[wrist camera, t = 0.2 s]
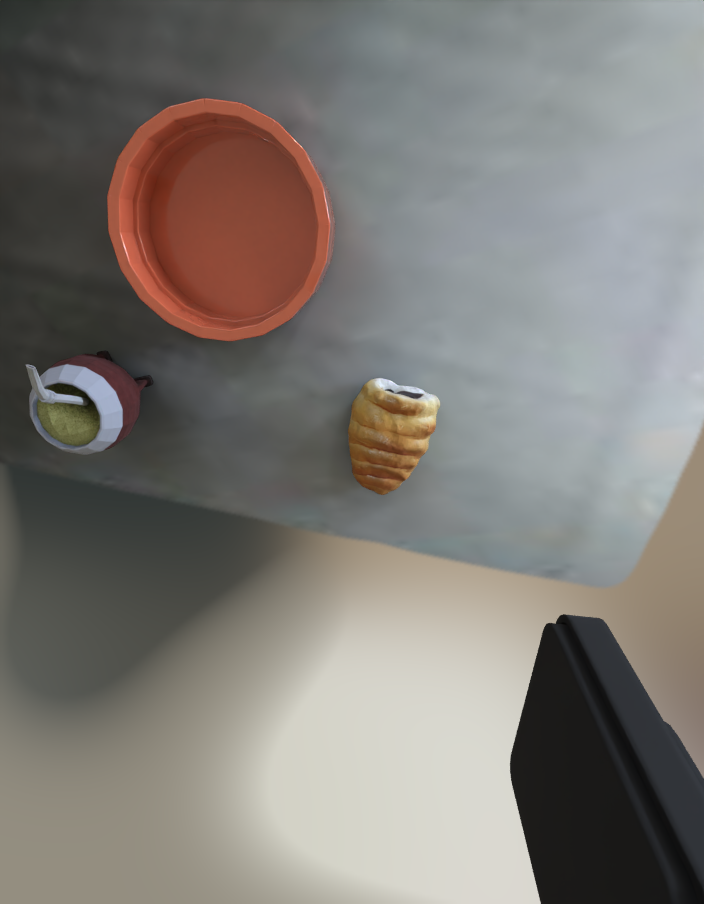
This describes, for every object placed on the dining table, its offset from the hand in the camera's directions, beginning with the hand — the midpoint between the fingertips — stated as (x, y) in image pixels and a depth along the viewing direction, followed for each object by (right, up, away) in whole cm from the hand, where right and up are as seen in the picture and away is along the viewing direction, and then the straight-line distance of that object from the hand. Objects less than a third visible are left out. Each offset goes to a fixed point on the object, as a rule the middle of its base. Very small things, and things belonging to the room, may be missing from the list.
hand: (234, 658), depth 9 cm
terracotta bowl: (-7, +20, +33) cm, 39 cm away
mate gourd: (-17, +9, +38) cm, 42 cm away
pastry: (+5, +5, +38) cm, 38 cm away
